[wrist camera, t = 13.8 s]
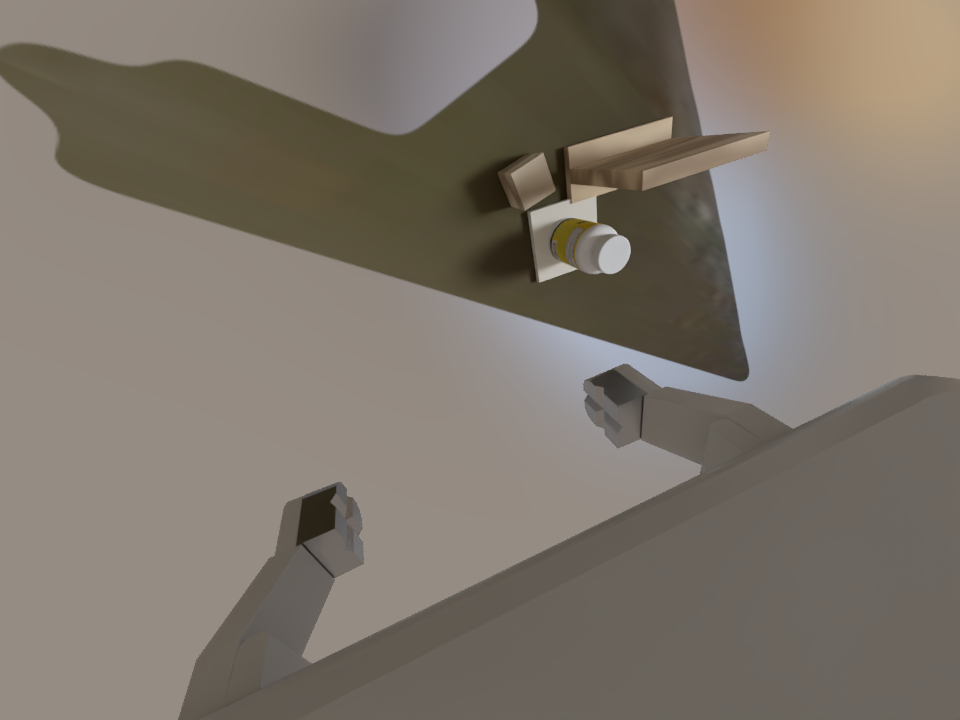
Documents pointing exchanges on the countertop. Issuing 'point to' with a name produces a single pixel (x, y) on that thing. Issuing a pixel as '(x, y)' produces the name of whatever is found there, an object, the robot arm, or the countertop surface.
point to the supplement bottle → (589, 246)
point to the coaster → (542, 227)
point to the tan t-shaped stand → (649, 158)
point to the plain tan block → (527, 181)
